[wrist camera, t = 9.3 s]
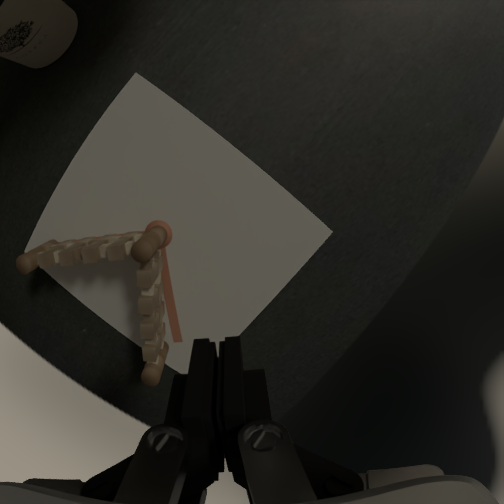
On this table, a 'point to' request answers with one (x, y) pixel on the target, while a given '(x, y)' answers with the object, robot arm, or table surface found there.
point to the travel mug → (35, 30)
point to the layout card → (176, 222)
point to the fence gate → (152, 318)
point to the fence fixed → (94, 249)
